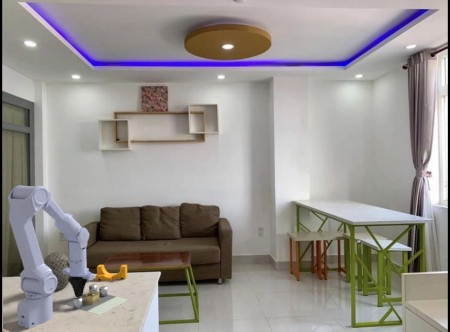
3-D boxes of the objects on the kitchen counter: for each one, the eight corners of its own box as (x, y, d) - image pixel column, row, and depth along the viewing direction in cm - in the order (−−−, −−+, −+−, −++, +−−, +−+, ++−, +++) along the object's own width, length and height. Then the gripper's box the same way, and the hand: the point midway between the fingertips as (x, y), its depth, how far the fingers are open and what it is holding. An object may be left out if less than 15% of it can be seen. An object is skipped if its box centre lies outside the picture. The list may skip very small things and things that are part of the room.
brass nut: (89, 305, 118) (89, 298, 118) (79, 303, 121) (79, 295, 121) (102, 299, 124) (102, 292, 123) (93, 296, 126) (92, 290, 126)
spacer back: (92, 295, 127) (92, 287, 127) (87, 294, 128) (87, 286, 128) (98, 292, 130) (98, 285, 129) (93, 291, 131) (93, 283, 131)
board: (99, 318, 112) (99, 315, 112) (63, 306, 120) (63, 304, 120) (128, 302, 123) (128, 299, 123) (93, 293, 132) (93, 290, 132)
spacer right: (103, 297, 125) (102, 289, 125) (97, 296, 126) (97, 288, 126) (109, 294, 128) (108, 287, 127) (103, 293, 129) (103, 285, 129)
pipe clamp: (95, 283, 142) (95, 268, 142) (99, 279, 147) (99, 264, 146) (124, 283, 142) (123, 268, 142) (127, 279, 146) (127, 264, 146)
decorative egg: (64, 296, 130) (62, 256, 129) (33, 296, 130) (32, 257, 129) (78, 284, 141) (76, 248, 141) (49, 284, 142) (48, 248, 141)
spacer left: (77, 310, 116) (77, 301, 115) (71, 308, 117) (71, 299, 117) (84, 306, 118) (84, 298, 118) (78, 305, 119) (78, 296, 119)
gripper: (100, 259, 125) (101, 295, 125) (74, 254, 132) (75, 288, 132) (84, 264, 119) (85, 303, 119) (57, 259, 126) (58, 295, 126)
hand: (79, 296), depth 125 cm, fingers closed
